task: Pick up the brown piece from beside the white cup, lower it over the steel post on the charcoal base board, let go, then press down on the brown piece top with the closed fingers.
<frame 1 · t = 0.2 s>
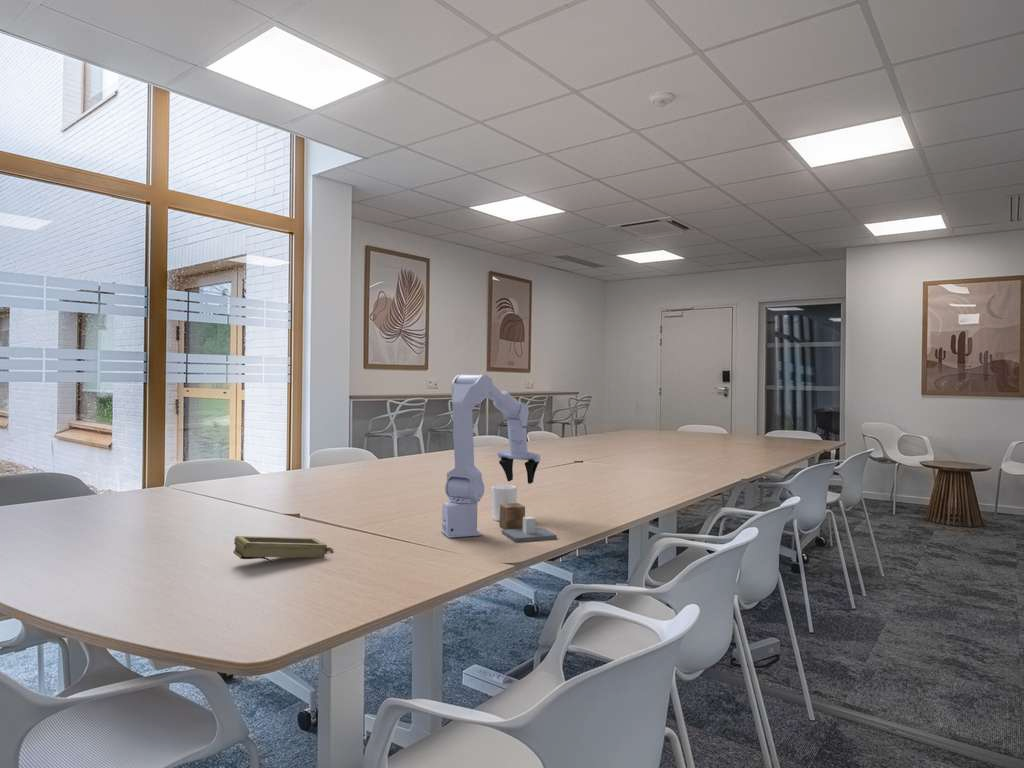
hand: (520, 481, 196), 11 cm above the table, tool pointing down, fingers open, 7 cm apart
white cup: (503, 520, 190), on the table
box: (287, 560, 143), on the table
brown piece: (512, 528, 178), on the table
post base: (528, 536, 169), on the table
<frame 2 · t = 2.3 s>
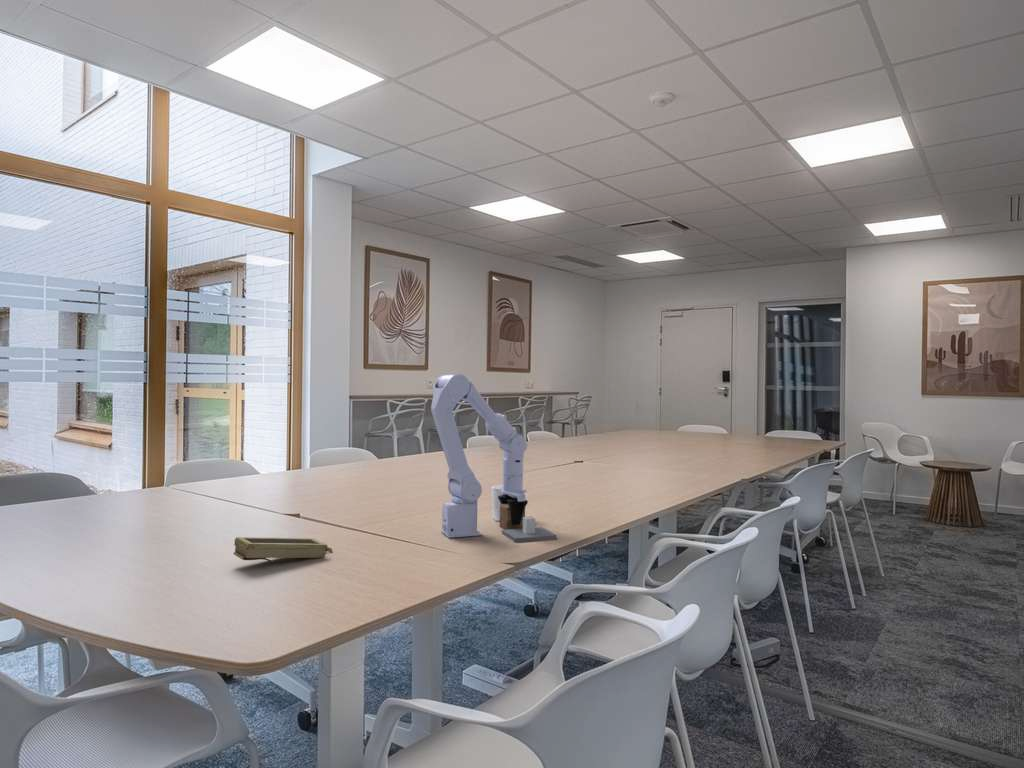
hand: (512, 522, 178), 2 cm above the table, tool pointing down, fingers closed on brown piece, 6 cm apart
brown piece: (512, 528, 178), on the table, touching gripper
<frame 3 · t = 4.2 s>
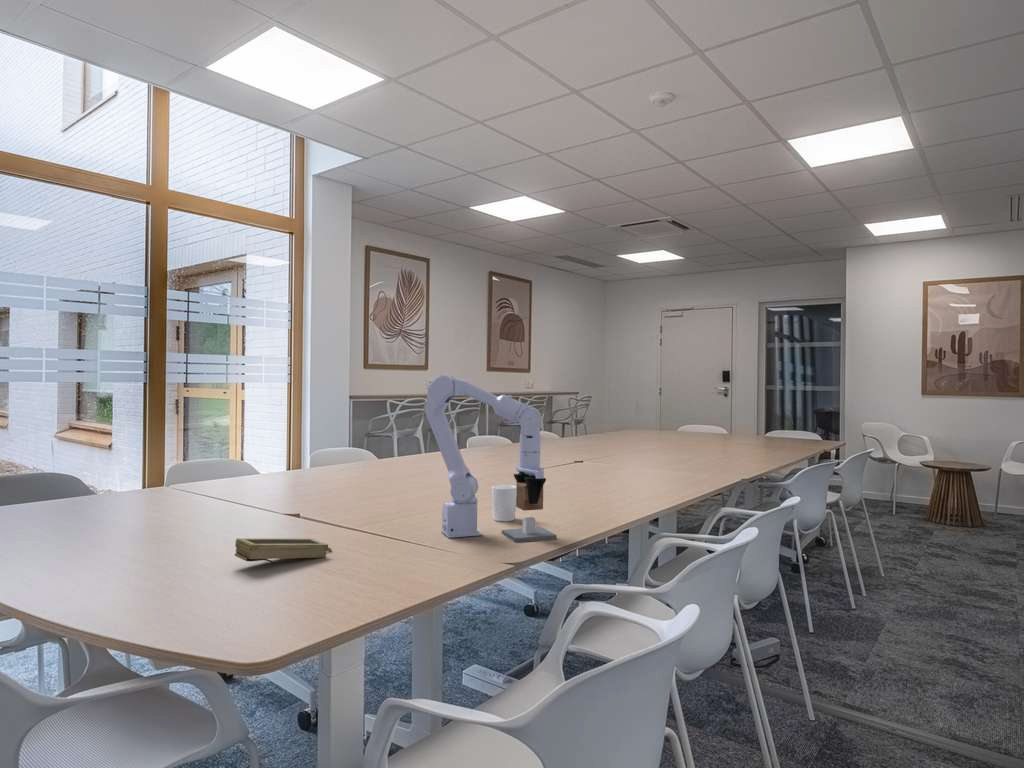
hand: (529, 501, 169), 9 cm above the table, tool pointing down, fingers closed on brown piece, 6 cm apart
brown piece: (529, 508, 169), point 8 cm above the table, touching gripper
when the fingers open (4 cm above the table, at t = 6.1 s): brown piece drops 1 cm, resting on post base.
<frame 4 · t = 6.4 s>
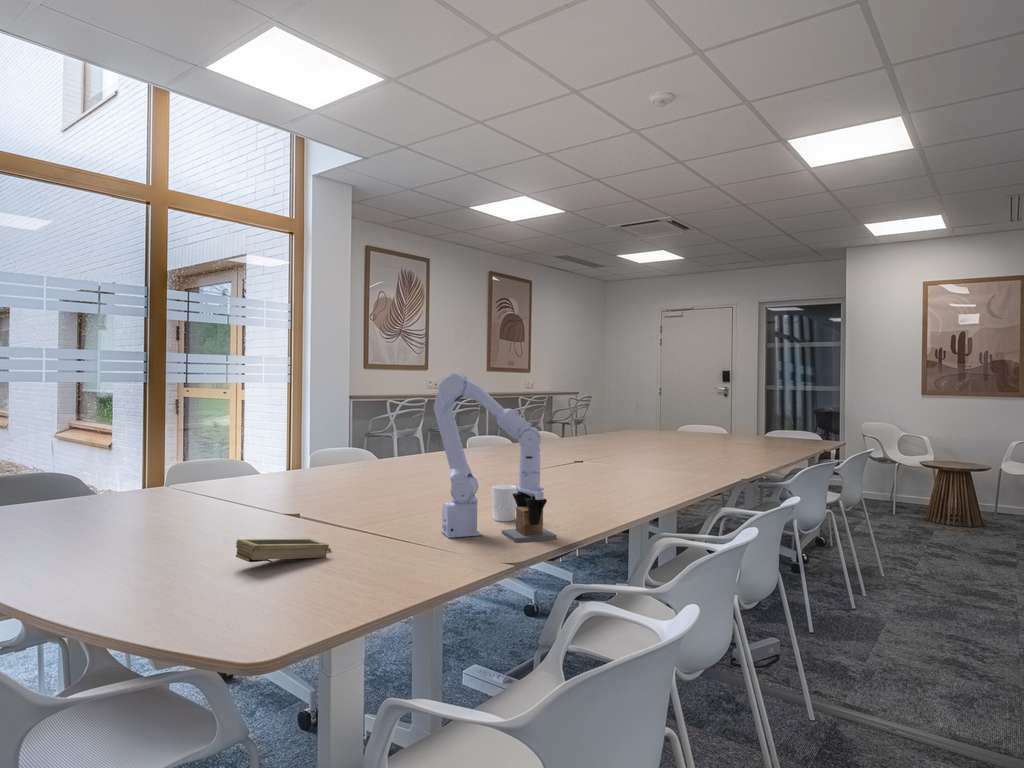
hand: (528, 521, 169), 4 cm above the table, tool pointing down, fingers open, 7 cm apart
brown piece: (529, 532, 169), point 1 cm above the table, touching post base
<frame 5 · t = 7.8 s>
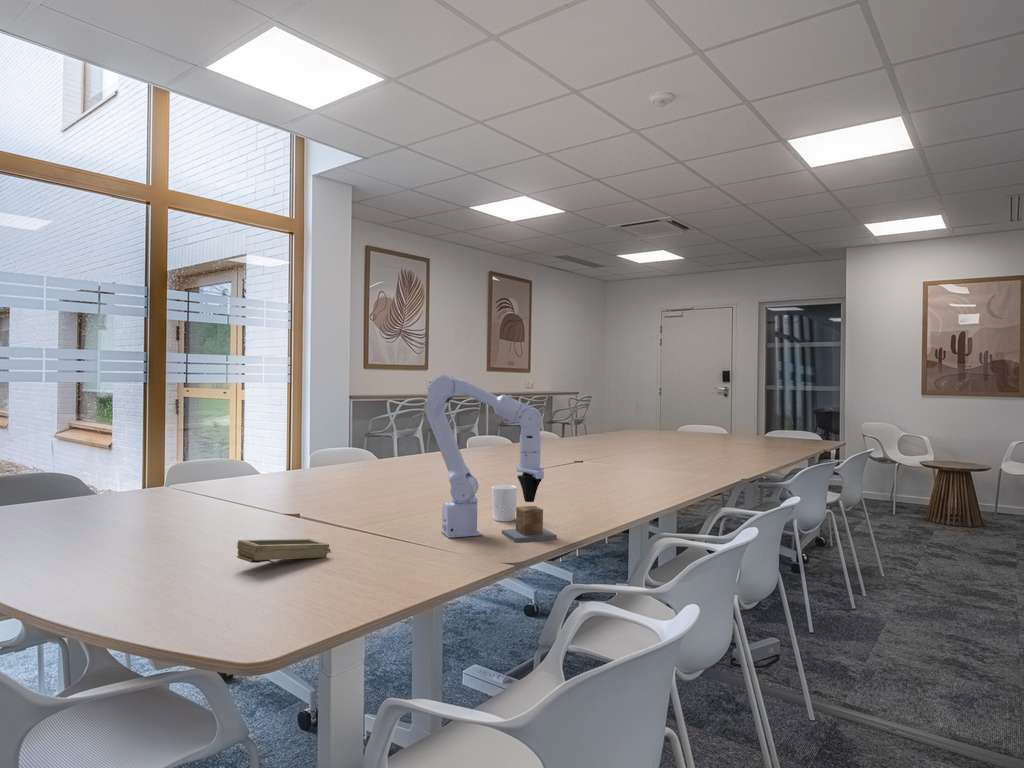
hand: (529, 501, 169), 9 cm above the table, tool pointing down, fingers closed
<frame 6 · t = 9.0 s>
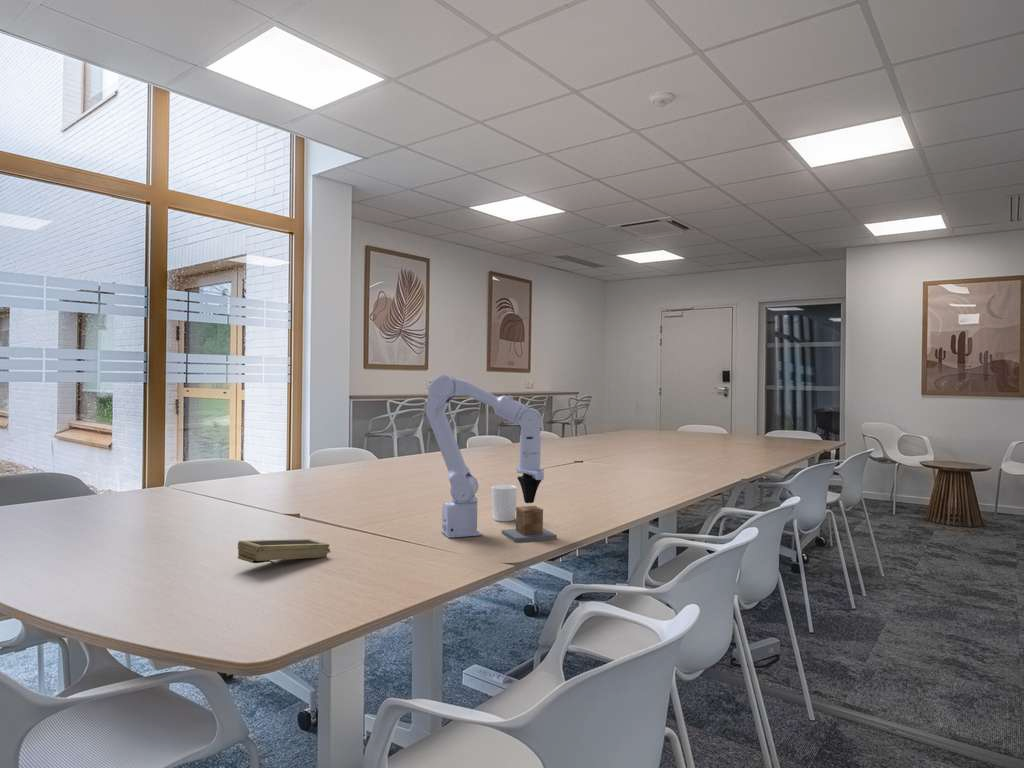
hand: (529, 502, 169), 9 cm above the table, tool pointing down, fingers closed
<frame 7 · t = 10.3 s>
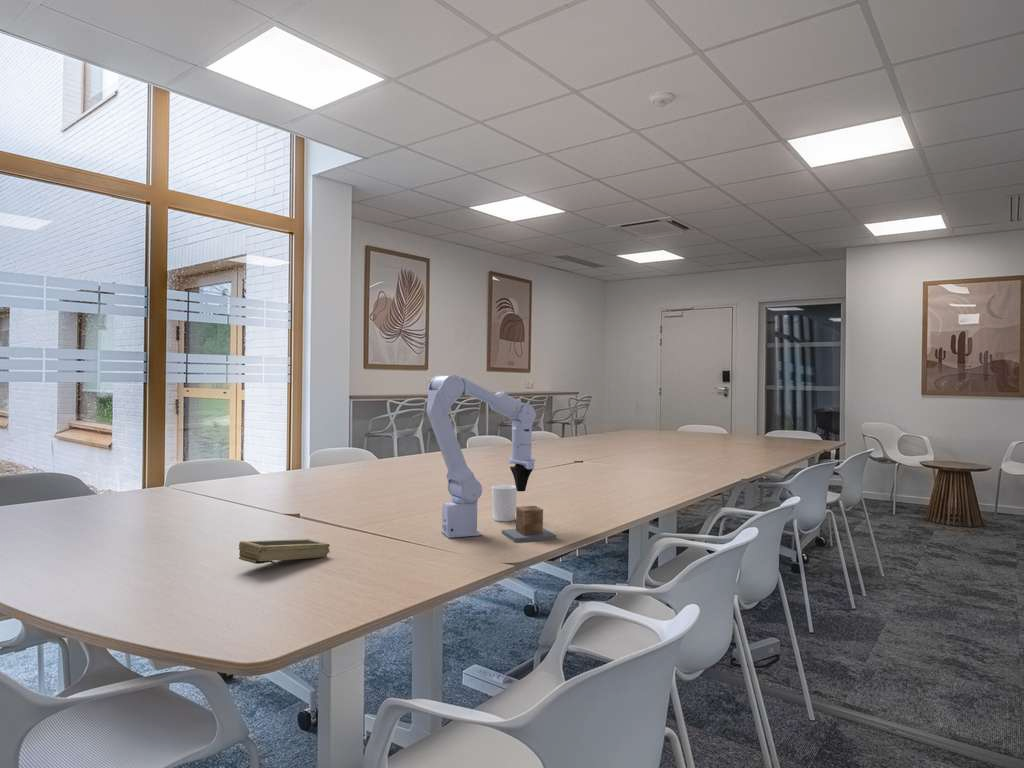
hand: (520, 491, 180), 10 cm above the table, tool pointing down, fingers closed
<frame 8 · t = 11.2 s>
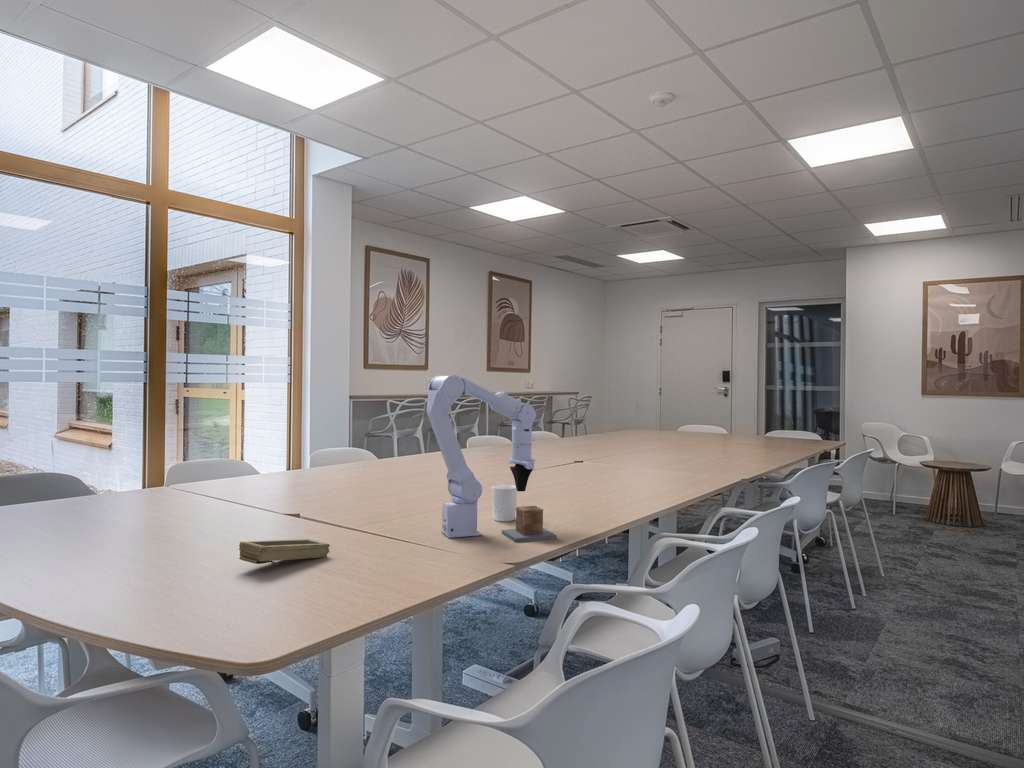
hand: (520, 491, 180), 10 cm above the table, tool pointing down, fingers closed
at the end: brown piece 0.1 cm from the post base (horizontally); brown piece point 1.0 cm above the table; brown piece tilted 0° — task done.
